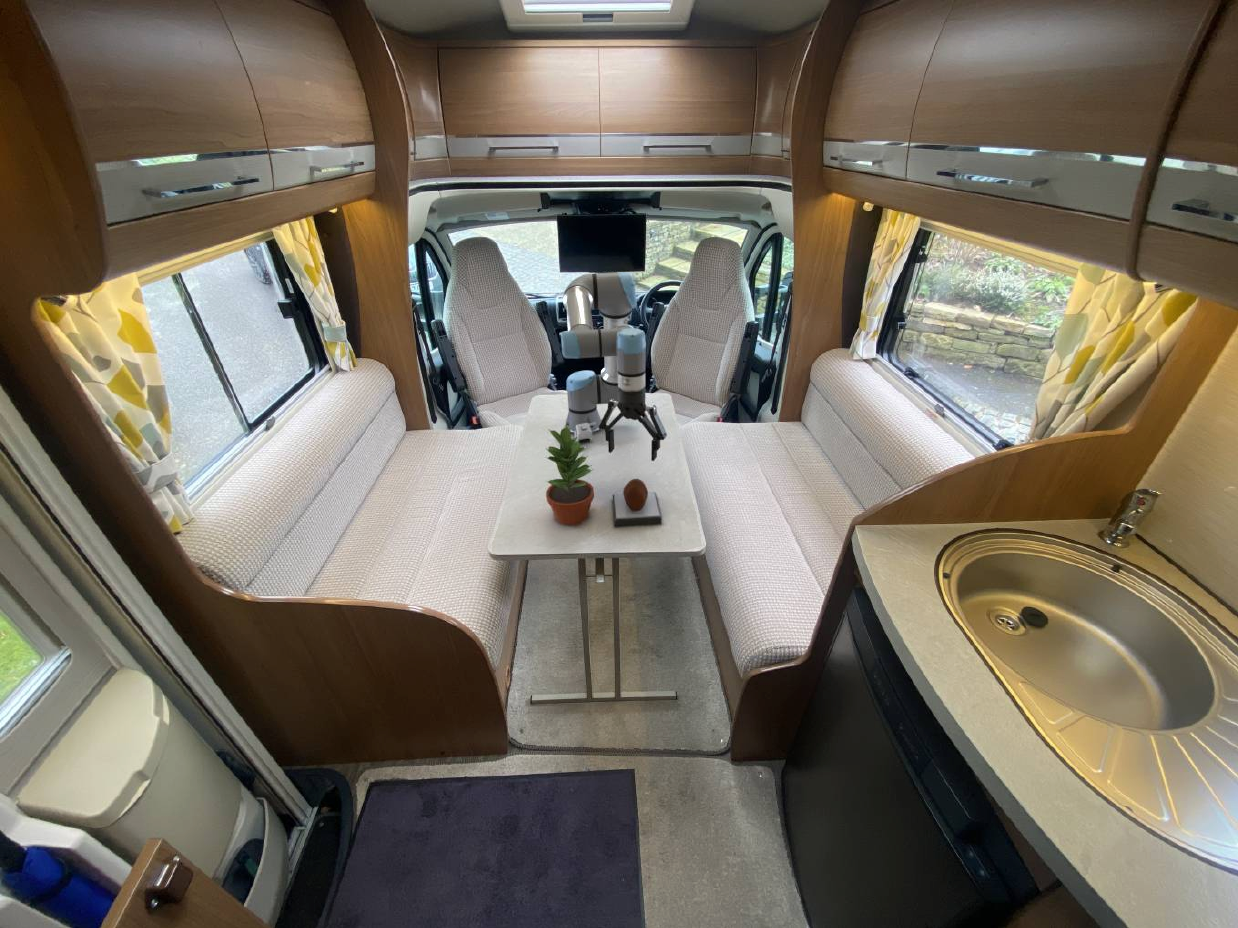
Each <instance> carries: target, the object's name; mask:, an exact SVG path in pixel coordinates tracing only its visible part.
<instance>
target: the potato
mask: <svg viewBox="0 0 1238 928" xmlns="http://www.w3.org/2000/svg"><path fill="white" fill-rule="evenodd" d="M648 492H649V491H648V488H647V485H646V483H644V481H643V480H642V479H639V478H632V479H630V480H629V481H628V482H627V484H625V486H624V488H623V490H622V493H623V494H624V499H625V502H626V504H627V506H628V507H629V508H630V509H631V510H632V511H635V512H636V511H639V510H641V509H642V508H643V506H644V505H645V503H646V500H647V497H648Z"/></svg>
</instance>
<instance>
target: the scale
mask: <svg viewBox="0 0 1238 928" xmlns="http://www.w3.org/2000/svg"><path fill="white" fill-rule="evenodd" d="M612 507H613V518H614V519H613V520H614V522H613V523H614V527H615V528H619V527H635V526H652V525H653V526H654V525H662V514H661V509H660V505H659V501H658V495H657V492H655V491H648V497H647V500H646V503H645V505H644V506H643V508H642V509H641V510H639V511H636V512H635V511H632V510H631V509H630V508H629V507H628V506H627V504H626V502H625V499H624V494H623V492H619V493H613V494H612Z"/></svg>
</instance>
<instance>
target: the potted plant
mask: <svg viewBox="0 0 1238 928" xmlns="http://www.w3.org/2000/svg"><path fill="white" fill-rule="evenodd" d="M548 431H549V432H550V434H551V435H552V437H553V438H554V439H555V440H556V441H557V442H558V444H559V448H558V447H556V446H548V447H547V448H546V451H547V452H548V453H549V454H551V455H550V456H548V457H547V456H545V458H546V459H548V460H549V461H551V462H553V463H555V464H556V467H557V470H558V472H559V475H560V477H561V478H554V479H549V480H548V481H546V480H545V482H546V483H548V484H550V486H548V488H547V489H546V491H545V497H546V502H547V504H548V505H549V506H550V508H551V510H552V512H553V515H554V517H555V519H556V520H557V522H558V523H559V524H562V525H564V526H575V525H579V524H582V523H583V522H585V521H586V520H587V519H588V517H589V514H590V509H591V506H592V502H593V500H594V498H595V490H594V489H595V488H594V486H593V485H592V484H591V483H589V482H588V481H586V480H583V479H581V478H582V477H585V476H587V475H589V474H590V473H591V472H592V471H593V470H594V468H593V469H590V468H591V467H592V464H591V465H589V464H587V463H585V464H583V463H584V462H585V461H586V460H587V458H588V457H589V455H586V456H584V454H582V455H581V456H579V454H580V453H582V452H584V451H585V450H586V449H587V447H585V446H582V444H580V443H579V440H578V441H577V442H576V439H577V438H578V437H576V438H575V437H574V438H573V439H572V434H571V430H570V429H569V428H568V427H567V425H566V424H565V427H564V428H562V429H561V430H560V433H559V432H558V431H556V430H552V429H551V430H550V429H548ZM578 456H579V457H578Z"/></svg>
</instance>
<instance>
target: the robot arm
mask: <svg viewBox="0 0 1238 928" xmlns="http://www.w3.org/2000/svg"><path fill="white" fill-rule="evenodd" d="M562 302H563V306H564V309H565V310H566V319H567V330H566V331H565V330H564V331H562V332H561V333H560V339H561V340H560V341H561V353H562V356H563V358H565V359H575V360H578V359H586V358H587V359H589V358H603V357H604V359H603V360H604V367H603V368H602V369H601V371H600V374H596V373H595V372H594V371H593V370H580V371H575V372H574V373H572V374H570V375H569V376H568V377H567V379H566V388H565V389H566V393H567V406H568V413H567V417H566V420H565V426H566V425H567V427H568V428H569V429H570V430H571V435H575V433H574V431H575V430H576V425H578V424H583V423H588V424H589V426H590V429H591V431H592V435H593V434H596V433H598V432H599V431H601V430H602V431H604V439H605V442H607V447H608V448H607V450H608V453H609V454H612V452H614V450H615V429H614V428H613V427H614V426H615V425H616V424H617V423H618V422H619V421H620V420H621V419H622V418H623V417H624V418H625V419H626V420H633V421H638V422H639V423H640V424H641V425H642V426H643V427H644V429H645V430H646V431H647V433H648V434H649V436H651V437H652V440H651V445H650V447H651V448H650V449H651V450H650V451H651V453H650V455H651V456H650V458H651V459H650V461H651V462H655V461H656V459H657V458H658V451H659V450H660V448H661V441H664V440H665V439H666V438H667V436H668V433H667V431H666V429H665V427H664V425H663V423H662V420H661V418H660V415H659V414H658V410H657V409H658V408H657V405H656V404H653V405H652V406H650V405H648V406H647V404H646V385H647V384H646V351H647V342H646V333H645V331H644V330H642V329H639V328H635V327H634V326H632V325H631V324H628V318H629V317H630V316H631V315H632V313H633V309H635V308H637V307H638V306H637V305H638V304H637V303H638V302H637V294H636V286H635V281H634V277H633V274H632V273H630V272H620V271H618V272H602V273H601V272H600V273H599V272H598V273H585V274H582V275H580V276H577V277H576V278H575V279H573V280H571V282H570V283H569V284H568V285H567V287H566V288H565V290H564V292H563V296H562ZM592 310H595V311H596V310H598V312H599V315H600V316H601V317H603V328H598V329H594V322H593V316H592ZM598 405H607V408H606V410H605V413H604V415H603V417H602V419H601V415H600V414H599V411H598ZM616 408H617V409H618V410H619V413H618V414H617V415H616V416H615V417H614V418H613V420H611V422H610V423H609V424H607V423H608V421H609V419H610V417H611V416H612V413H613V412H614V410H615V409H616ZM646 412H647V414H646ZM648 415H649V417H650V419H649V417H648Z"/></svg>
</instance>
